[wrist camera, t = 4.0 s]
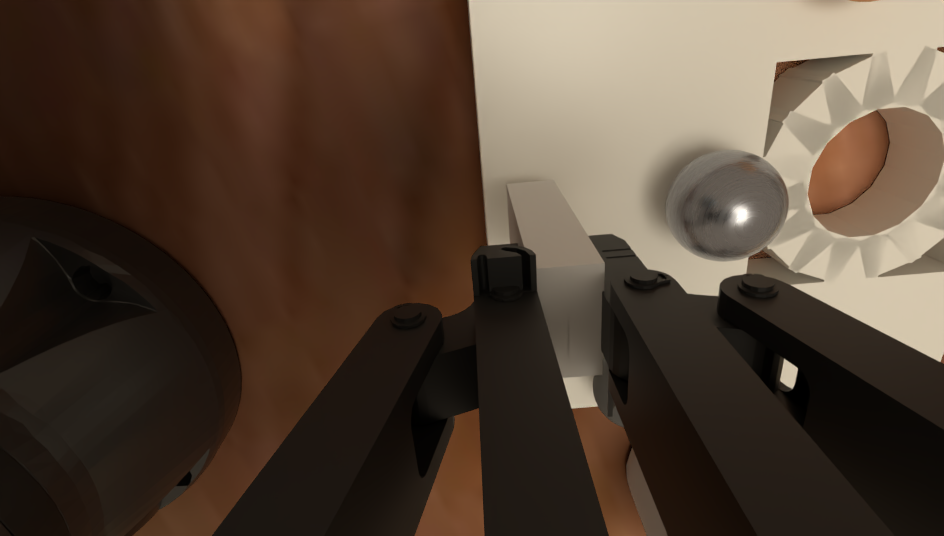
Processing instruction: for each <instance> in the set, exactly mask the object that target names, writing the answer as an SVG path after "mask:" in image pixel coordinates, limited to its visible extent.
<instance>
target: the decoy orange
mask: <svg viewBox="0 0 944 536" xmlns="http://www.w3.org/2000/svg"><path fill="white" fill-rule="evenodd" d="M850 1H856V2H871V1H877V0H850Z"/></svg>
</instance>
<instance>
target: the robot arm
mask: <svg viewBox="0 0 944 536" xmlns="http://www.w3.org/2000/svg"><path fill="white" fill-rule="evenodd" d="M506 188H507V205H508V222H509V239H510V244H501V245H489V246H480V247H479V249H478V250H477V251H476V252H475V253H474V254H473V256H472V258H471V270H472V280H473V291H474V302H473V303H472V305H471V306H470V307H468V308H467V309H466V310H464V311H462V312H460V313H458V314H455V315H452V316H448V317H445V318H442V314H441V312H440V311H439V310H438V308H436V307H433V306H431V305H428V304H421V303H414V304H412V303H406V304H403V305H397V306H395V307H393V308H391V309H389V310H387V311H385V312H383V313H382V314H381V315H380V316H379V317H378V318H377V319H376V320H375V321H374V323H373V324H372V325H371V327H370V328H369V329H368V331H367V332H366V333H365V335H364V336H363V337H362V339H361V340H360V341H359V343H358V344H357V345H356V346H355V348H354V349H353V350H352V352H351V353H350V354H349V356H348V357H347V358H346V360H345V361H344V362H343V364H342V365H341V366H340V368H339V369H338V370H337V372H336V373H335V374H334V375H333V377H332V378H331V379H330V381H329V382H328V383H327V385H326V386H325V387H324V389H323V390H322V391H321V393H320V394H319V395H318V397H317V398H316V399H315V400H314V402H313V403H312V404H311V406H310V407H309V408H308V410H307V411H306V412H305V414H304V415H303V416H302V418H301V419H300V420H299V422H298V423H297V424H296V426H295V427H294V428H293V429H292V431H291V432H290V433H289V435H288V436H287V437H286V439H285V440H284V441H283V443H282V444H281V445H280V447H279V448H278V449H277V451H276V452H275V453H274V455H273V456H272V457H271V458H270V460H269V461H268V462H267V464H266V465H265V466H264V468H263V469H262V470H261V472H260V473H259V474H258V476H257V477H256V478H255V480H254V481H253V482H252V484H251V485H250V486H249V487H248V489H247V490H246V491H245V493H244V494H243V495H242V497H241V498H240V499H239V501H238V502H237V503H236V505H235V506H234V507H233V509H232V510H231V511H230V513H229V514H228V515H227V516H226V518H225V519H224V520H223V522H222V523H221V524H220V526H219V527H218V528H217V530H216V531H215V532H214V534H213V535H212V536H414V535H415V533H416V530H417V527H418V524H419V522H420V519H421V516H422V513H423V511H424V508H425V505H426V502H427V500H428V497H429V494H430V491H431V489H432V486H433V483H434V480H435V478H436V475H437V472H438V470H439V467H440V464H441V461H442V459H443V456H444V453H445V450H446V448H447V445H448V442H449V439H450V437H451V434H452V431H453V428H454V420H455V419H454V416H455V415H458V414H461V413H465V412H468V411H471V410H474V409H477V408H479V419H480V442H481V464H482V486H483V509H484V531H485V536H609V535H608V532H607V528H606V525H605V521H604V518H603V514H602V511H601V508H600V504H599V501H598V497H597V494H596V491H595V487H594V484H593V480H592V477H591V473H590V470H589V467H588V463H587V460H586V456H585V453H584V449H583V446H582V443H581V439H580V436H579V432H578V429H577V426H576V422H575V419H574V415H573V412H572V408H571V405H570V402H569V398H568V395H567V391H566V388H565V384H564V381H563V378H569V377H582V376H595V375H602V368H603V355H604V358H605V360H606V362H607V365H608V390H607V417H613V408H614V407H615V406H616V409H617V411H618V414H619V416H620V419H621V421H622V424H623V426H624V428H625V431H626V433H627V436H628V438H629V441H630V443H631V446H632V448H633V451H634V453H635V456H636V458H637V461H638V463H639V466H640V468H641V471H642V473H643V476H644V478H645V481H646V483H647V485H648V488H649V490H650V493H651V495H652V498H653V500H654V503H655V505H656V508H657V510H658V513H659V515H660V518H661V520H662V523H663V525H664V528H665V530H666V533H667V535H668V536H944V364H943V363H941V362H939V361H937V360H935V359H933V358H931V357H929V356H927V355H925V354H923V353H922V352H920V351H918V350H916V349H914V348H912V347H910V346H908V345H906V344H904V343H902V342H900V341H898V340H896V339H894V338H892V337H890V336H888V335H887V334H885V333H883V332H881V331H879V330H877V329H875V328H873V327H871V326H869V325H867V324H865V323H863V322H861V321H859V320H857V319H855V318H853V317H852V316H850V315H848V314H846V313H844V312H842V311H840V310H838V309H836V308H834V307H832V306H830V305H828V304H826V303H824V302H822V301H820V300H818V299H816V298H815V297H813V296H811V295H809V294H807V293H805V292H803V291H801V290H799V289H797V288H795V287H793V286H791V285H789V284H787V283H785V282H783V281H780V280H777V279H775V278H771V277H766V276H764V275H761V274H754V275H753V274H743V275H735V276H731V277H728V278H725V279H724V280H723V281H722V282H721V283H720V286H719V294H718V296H709V295H696V294H688V293H686V291H685V290H684V289H683V288H682V287H681V286H680V284H679V283H678V282H677V281H676V280H675V279H674V278H673V277H671V276H670V275H668V274H666V273H664V272H660V271H656V270H650V269H647V268H646V267H645V265H644V264H643V263H642V261H641V260H640V259H639V258H638V256H636V254H635V253H634V251H633V250H631V247H630V246H629V245H628V244H627V242H626V241H625V240H623V239H621V238H619V237H617V236H615V235H613V234H603V235H591V236H588V235H587V233H586V232H585V230H584V228H583V227H582V225H581V224H580V222H579V220H578V219H577V217H576V215H575V214H574V212H573V211H572V209H571V207H570V206H569V204H568V202H567V201H566V199H565V198H564V196H563V194H562V193H561V191H560V190H559V188H558V186H557V185H556V183H555V181H554V180H546V181H534V182H523V183H511V184H506ZM784 359H785V360H787V361H788V362H790V363H791V364H793V365H794V366H796V367H797V368H798V371H797V376H796V381H795V385H794V387H793V389H792V388H790V387H788V386H786V385H785V384H783V383H782V382H781V381H780V378H781V373H782V368H783V363H784ZM240 393H241V374H240V366H239V361H238V356H237V353H236V349H235V346H234V343H233V340H232V338H231V335H230V333H229V331H228V329H227V326H226V324H225V323H224V321H223V319H222V317H221V315H220V314H219V312H218V311H217V309H216V307H215V306H214V304H213V303H212V302H211V300H210V299H209V298H208V296H207V295H206V294H205V292H204V291H203V290H202V289H201V288H200V286H199V285H198V284H197V283H196V282H195V281H194V280H193V279H192V278H191V277H190V276H189V274H188V273H187V272H186V271H185V270H183V269H182V268H181V267H180V266H179V265H178V264H177V263H176V262H175V261H173V260H172V259H171V258H170V257H168V256H167V255H166V254H165V253H164V252H162V251H161V250H159V249H158V248H157V247H155V246H154V245H152V244H151V243H150V242H148V241H146V240H145V239H143V238H142V237H140V236H139V235H137V234H135V233H133V232H132V231H130V230H128V229H126V228H124V227H123V226H120V225H118V224H116V223H114V222H112V221H110V220H108V219H106V218H103V217H101V216H98V215H96V214H93V213H91V212H88V211H85V210H82V209H79V208H76V207H72V206H69V205H65V204H61V203H57V202H52V201H48V200H41V199H35V198H25V197H4V196H1V197H0V536H132V535H133V534H135V533H136V532H137V531H138V530H139V529H140V528H141V527H142V526H144V525H145V524H146V523H147V522H148V521H149V520H150V519H151V518H152V517H153V516H154V515H155V514H156V512H157V511H158V510H159V509H161V508H163V507H165V506H166V505H168V504H169V503H171V502H172V501H173V500H175V499H176V498H177V497H179V496H180V495H181V494H182V493H183V492H185V491H186V490H187V489H188V488H189V487H190V486H191V485H192V484H193V483H194V482H195V481H196V480H197V479H198V478H199V476H200V475H201V474H202V473H203V472H204V470H205V469H206V468H207V466H208V465H209V464H210V462H211V461H212V459H213V457H214V455H215V454H216V452H217V450H218V449H219V447H220V445H221V444H222V442H223V440H224V438H225V437H226V435H227V433H228V432H229V430H230V428H231V426H232V424H233V421H234V419H235V417H236V413H237V410H238V406H239V401H240Z"/></svg>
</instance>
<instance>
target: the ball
mask: <svg viewBox="0 0 944 536" xmlns="http://www.w3.org/2000/svg"><path fill="white" fill-rule="evenodd" d="M788 208H789V197H788V192H787V188H786V185H785V182H784V181H783V179H782V177H781V175H780V174H779V172H778V171H777V170H776V169H775V168H774V167H773V166H772V165H771V164H770V163H769V162H768V161H766V160H764V159H763V158H761V157H759V156H757V155H755V154H753V153H749V152H745V151H741V150H720V151H715V152H711V153H708V154H705V155H703V156H700V157H698V158H696V159H695V160H693V161H692V162H690V163H689V164H688V165H686V166H685V167H684V168H683V169H682V170H681V171H680V172H679V173H678V175H677V176H676V177H675V179H674V180H673V182H672V184H671V186H670V188H669V190H668V193H667V197H666V203H665V214H666V220H667V223H668V226H669V229H670V231H671V233H672V235H673V236H674V238H675V239H676V240H677V241H678V243H679V244H680V245H681V246H682V247H684V248H685V249H686V250H688V251H689V252H691V253H692V254H694V255H696V256H698V257H701V258H704V259H707V260H712V261H720V262H727V261H736V260H741V259H744V258H747V257H750V256H752V255H754V254H756V253H758V252H760V251H761V250H763V249H764V248H766V247H767V246H768V245H769V244H770V243H771V242H772V241H773V240H774V239H775V238H776V237H777V236H778V234H779V233H780V231H781V230H782V228H783V226H784V223H785V221H786V218H787V214H788Z"/></svg>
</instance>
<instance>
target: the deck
mask: <svg viewBox="0 0 944 536" xmlns="http://www.w3.org/2000/svg"><path fill="white" fill-rule="evenodd" d="M467 2H468V15H469V27H470V39H471V52H472V64H473V77H474V89H475V101H476V114H477V126H478V139H479V151H480V163H481V176H482V188H483V201H484V213H485V225H486V238H487V246H489V245H501V244H510V239H509V222H508V205H507V188H506V184H511V183H523V182H534V181H546V180H554V181H555V183H556V185H557V186H558V188H559V190H560V191H561V193H562V194H563V196H564V198H565V199H566V201H567V202H568V204H569V206H570V207H571V209H572V211H573V212H574V214H575V215H576V217H577V219H578V220H579V222H580V224H581V225H582V227H583V228H584V230H585V232H586V233H587V235H588V236H591V235H603V234H613V235H615V236H617V237H619V238H621V239H623V240H625V241H626V242H627V244H628V245H629V246H630V247H631V250H633V251H634V253H635V254H636V256H638V258H639V259H640V260H641V261H642V263H643V264H644V265H645V267H646V268H647V269H650V270H656V271H660V272H664V273H666V274H668V275H670V276H671V277H673V278H674V279H675V280H676V281H677V282H678V283H679V284H680V286H681V287H682V288H683V289H684V290H685V291H686V293H688V294H696V295H709V296H718V294H719V286H720V283H721V282H722V281H723V280H724V279H725V278H728V277H731V276H735V275H743V274H753V275H754V274H761V275H764V276H766V277H771V278H775V279H777V280H780V281H783V282H785V283H787V284H789V285H791V286H793V287H795V288H797V289H799V290H801V291H803V292H805V293H807V294H809V295H811V296H813V297H815V298H816V299H818V300H820V301H822V302H824V303H826V304H828V305H830V306H832V307H834V308H836V309H838V310H840V311H842V312H844V313H846V314H848V315H850V316H852V317H853V318H855V319H857V320H859V321H861V322H863V323H865V324H867V325H869V326H871V327H873V328H875V329H877V330H879V331H881V332H883V333H885V334H887V335H888V336H890V337H892V338H894V339H896V340H898V341H900V342H902V343H904V344H906V345H908V346H910V347H912V348H914V349H916V350H918V351H920V352H922V353H923V354H925V355H927V356H929V357H931V358H933V359H935V360H937V361H939V362H941V359H942V356H943V353H944V53H943V52H940V51H937V47H944V0H877V1H871V2H856V1H850V0H467ZM807 59H810V60H808V61H806V62H804V63H802V64H800V65H798V66H796V67H794V68H788V69H787V70H786V71H785V72H784V73H782V74H780V75H779V78H778V79H777V80H776V81H775V82H774V77H775V70H776V63H777V62H785V61H796V60H807ZM875 110H877V111H878V112H879V113H880V114H881V116H882V117H883V118H884V119H885V121H886V123H887V128H888V134H889V140H890V145H889V149H888V153H887V157H886V161H885V166H884V167H883V169H882V170H881V172H880V173H879V175H878V177H877V178H876V180H875V181H874V183H873V184H872V186H871V187H870V188H869V189H868V190H867V191H866V192H864V193H863V194H862V195H861V196H860V197H859V198H857V199H856V200H855V201H854V202H853V203H852V204H849V205H847V206H845V207H843V208H840V209H838V210H836V211H834V212H831V213H829V214H818V215H813V214H812V210H811V206H810V202H809V198H808V188H809V183H810V177H811V172H812V168H813V166H814V165H815V163H816V161H817V159H818V158H819V156H820V154H821V153H822V151H823V149H824V147H825V146H826V144H827V143H828V142H829V141H830V140H831V139H832V138H833V137H834V136H836V135H837V134H838V133H839V132H840V131H841V130H842V129H843V128H844V127H845V126H846V125H848V124H849V123H850V122H852V121H854V120H856V119H858V118H860V117H862V116H864V115H867V114H869V113H871V112H873V111H875ZM720 150H741V151H745V152H749V153H753V154H755V155H757V156H759V157H761V158H763V159H764V160H766V161H768V162H769V163H770V164H771V165H772V166H773V167H774V168H775V169H776V170H777V171H778V172H779V174H780V175H781V177H782V179H783V181H784V182H785V185H786V188H787V192H788V197H789V208H788V214H787V218H786V221H785V223H784V226H783V228H782V230H781V231H780V233H779V234H778V236H777V237H776V238H775V239H774V240H773V241H772V242H771V243H770V244H769V245H768V246H767V247H766V248H764V249H763V251H764V252H765V253H767V254H768V255H770V256H771V257H770V258H758V259H748V258H749V257H747V258H744V259H741V260H736V261H727V262H720V261H712V260H707V259H704V258H701V257H698V256H696V255H694V254H692V253H691V252H689V251H688V250H686V249H685V248H684V247H682V246H681V245H680V244H679V243H678V241H677V240H676V239H675V238H674V236H673V235H672V233H671V231H670V229H669V226H668V223H667V220H666V214H665V203H666V197H667V193H668V190H669V188H670V186H671V184H672V182H673V180H674V179H675V177H676V176H677V175H678V173H679V172H680V171H681V170H682V169H683V168H684V167H685V166H686V165H688V164H689V163H690V162H692V161H693V160H695V159H696V158H698V157H700V156H703V155H705V154H708V153H711V152H715V151H720ZM603 359H604V355H603ZM797 371H798V368H797V367H796V366H794V365H793V364H791V363H790V362H788V361H787V360H785V359H784V363H783V368H782V373H781V378H780V381H781V382H782V383H783V384H785V385H786V386H788V387H790V388H792V389H793V387H794V385H795V381H796V376H797ZM593 378H594V376H582V377H569V378H563V381H564V384H565V388H566V391H567V395H568V398H569V402H570V405H571V408H583V407H595V406H598V405H597V403H596V401H595V398H594V394H593Z"/></svg>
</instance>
